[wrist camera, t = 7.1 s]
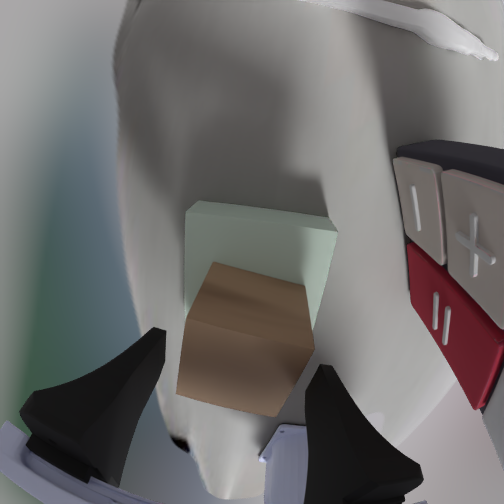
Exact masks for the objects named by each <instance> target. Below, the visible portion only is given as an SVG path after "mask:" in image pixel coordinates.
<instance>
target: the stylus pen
mask: <svg viewBox="0 0 504 504" xmlns="http://www.w3.org/2000/svg"><path fill="white" fill-rule="evenodd" d="M299 1H305V2H310V3H315V4H320V5H324V6H328V7H331V8H335V9H339V10H343V11H346V12H351V13H354V14H357V15H360V16H363V17H366V18H369V19H372V20H375V21H378V22H381V23H384V24H387V25H390V26H394V27H397V28H401V29H405V30H408V31H412V32H413V33H415V34H416V35H418V36H419V37H420V38H422V39H423V40H424V41H426V42H427V43H428V44H430V45H433V46H436V47H439V48H441V49H447V50H454V51H457V52H459V53H462V54H464V55H469V54H471V55H473V56H475V57H477V58H478V59H480V60H483V56H484V57H486V58H487V59H489V60H493V61H497V60H498V59H499V57H498V53H497V52H496V51H494V50H493V49H492V48H489V47H487V46H486V45H484V44H483V43H482V42H481V41H480V39H478V38H477V37H476V36H474V35H473V34H472V33H470V32H469V31H467V30H466V29H464V28H462V27H460V26H459V25H458V24H456V23H455V22H454V21H452V20H451V19H450V18H448V17H447V16H445V15H444V14H442V13H440V12H438V11H435V10H432V9H428V8H422V9H419V10H417V9H414V8H411V7H407V6H403V5H399V4H395V3H392V2H388V1H384V0H299Z"/></svg>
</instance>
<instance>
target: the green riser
mask: <svg viewBox="0 0 504 504" xmlns="http://www.w3.org/2000/svg"><path fill="white" fill-rule="evenodd" d="M337 234H338V231H337V230H336V228H335V226H334V225H333V223H332V222H331V220H330V218H329V217H322V216H316V215H309V214H303V213H296V212H289V211H282V210H274V209H267V208H259V207H251V206H243V205H235V204H226V203H218V202H208V201H199V200H198V201H197V202H196V203H195V204H194V205H193V206H192V207H190V208H189V209H188V210H187V211H186V212H185V246H184V306H185V322H186V317H187V315H188V313H189V310H190V308H191V306H192V304H193V302H194V300H195V298H196V296H197V294H198V291H199V289H200V287H201V285H202V283H203V281H204V279H205V277H206V275H207V273H208V271H209V269H210V267H211V265H212V263H213V262H217V263H221V264H224V265H228V266H232V267H236V268H239V269H243V270H247V271H250V272H254V273H258V274H262V275H266V276H269V277H273V278H277V279H281V280H285V281H289V282H292V283H296V284H300V285H304V286H305V288H306V294H307V300H308V306H309V313H310V319H311V326H312V331H313V327H314V324H315V321H316V317H317V314H318V310H319V306H320V303H321V299H322V295H323V292H324V288H325V284H326V280H327V276H328V272H329V268H330V264H331V260H332V256H333V252H334V247H335V243H336V239H337Z"/></svg>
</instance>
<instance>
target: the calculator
mask: <svg viewBox="0 0 504 504" xmlns="http://www.w3.org/2000/svg"><path fill="white" fill-rule="evenodd" d="M393 166H394V170H395V175H396V180H397V185H398V190H399V196H400V201H401V207H402V214H403V220H404V228H405V232H406V235H407V236H408V237H409V238H411V243H409V244H407V253H408V264H409V278H410V298H411V304H412V306H413V307H414V309H415V310H416V312H417V313H418V315H419V316H420V318H421V320H422V321H423V323H424V324H425V326H426V327H427V329H428V330H429V332H430V334H431V335H432V337H433V338H434V340H435V342H436V343H437V345H438V346H439V348H440V350H441V351H442V353H443V355H444V356H445V358H446V360H447V362H448V363H449V365H450V367H451V369H452V370H453V372H454V374H455V376H456V378H457V379H458V381H459V383H460V385H461V387H462V388H463V390H464V392H465V394H466V396H467V398H468V400H469V402H470V404H471V406H472V408H473V409H474V410H477V409H480V411H481V413H482V415H483V416H482V419H483V422H484V425H485V427H486V429H487V431H488V433H489V436H490V438H491V440H492V443H493V445H494V447H495V450H496V452H497V455H498V457H499V460H500V462H501V465H502V468H503V470H504V149H499V148H494V147H488V146H482V145H476V144H469V143H462V142H454V141H445V140H430V141H425V142H420V143H415V144H411V145H406V146H402V147H398V148H397V158H394V159H393Z"/></svg>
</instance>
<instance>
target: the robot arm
mask: <svg viewBox="0 0 504 504" xmlns="http://www.w3.org/2000/svg"><path fill="white" fill-rule="evenodd" d="M165 350H166V331H165V330H162V329H159V328H155V327H153V328H151V329H150V330H149V331H148V332H147V333H146V334H145V335H144V336H142V337H141V338H140V339H139V340H138V341H137V342H135V343H134V344H133V345H132V346H130V347H129V348H128V349H127V350H125V351H124V352H123V353H121V354H120V355H118V356H117V357H116V358H114V359H112V360H111V361H110V362H108V363H107V364H105V365H103V366H101V367H100V368H98V369H96V370H95V371H93V372H91V373H88V374H86V375H84V376H82V377H80V378H78V379H75V380H73V381H70V382H67V383H65V384H61V385H59V386H55V387H51V388H47V389H43V390H38V391H34V392H33V393H32V394H31V395H30V397H29V398H28V399H27V401H26V402H25V404H24V405H23V407H22V408H21V410H20V411H19V412H20V416H21V418H22V420H23V421H24V422H25V424H26V425H27V427H28V428H29V429H30V431H31V432H32V435H31V437H30V438H29V437H28V436H27V435H26V434H25V433H24V432H22V431H21V430H20V429H18V428H17V427H15V426H14V425H13V424H11V423H10V422H9V421H6V422H5V423H4V425H3V426H2V428H1V429H0V471H1V472H2V473H3V474H4V475H5V476H7V477H8V478H9V479H11V480H12V481H13V482H14V483H16V484H17V485H18V486H20V487H21V488H22V489H24V490H25V491H27V492H28V493H29V494H31V495H32V496H34V497H35V498H37V499H38V500H40V501H41V502H43V503H44V504H163V503H160V502H156V501H153V500H150V499H146V498H144V497H141V496H138V495H135V494H132V493H129V492H127V491H124V490H122V489H119V488H118V487H119V485H120V481H121V477H122V473H123V469H124V465H125V461H126V457H127V454H128V451H129V447H130V444H131V441H132V438H133V435H134V432H135V429H136V426H137V423H138V420H139V418H140V416H141V413H142V411H143V409H144V407H145V405H146V403H147V401H148V399H149V397H150V395H151V393H152V391H153V389H154V387H155V385H156V383H157V381H158V379H159V377H160V374H161V371H162V368H163V366H164V363H165ZM305 418H306V426H297V425H288V424H282V425H280V426H279V427H278V429H277V430H276V432H275V433H274V435H273V437H272V438H271V440H270V441H269V443H268V444H267V446H266V448H265V449H264V451H263V452H262V454H261V455H260V457H259V461H260V462H266V475H265V490H264V503H265V504H402V502H404V501H405V497H404V495H405V494H407V493H408V492H410V491H412V490H413V489H415V488H416V487H418V486H419V485H420V484H421V483H422V482H423V480H424V478H423V475H422V471H421V467H420V464H418V463H416V462H415V461H413V460H412V459H410V458H408V457H407V456H405V455H404V454H403V453H401V452H400V451H399V450H397V449H396V448H395V447H394V446H392V445H391V444H390V443H389V442H388V441H387V440H386V439H385V438H384V437H383V436H382V435H381V434H380V433H379V432H378V431H377V430H376V429H375V428H374V427H373V426H372V425H371V424H370V422H369V421H368V420H367V419H366V418H365V416H364V415H363V414H362V412H361V411H360V409H359V408H358V407H357V405H356V404H355V402H354V401H353V399H352V398H351V396H350V395H349V393H348V392H347V390H346V388H345V387H344V385H343V383H342V382H341V380H340V378H339V376H338V375H337V373H336V371H335V370H334V368H333V366H331V365H323V364H320V365H319V367H318V369H317V371H316V373H315V375H314V377H313V378H312V380H311V382H310V384H309V386H308V387H307V389H306V392H305ZM414 504H427V501H421V502H418V503H414Z"/></svg>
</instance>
